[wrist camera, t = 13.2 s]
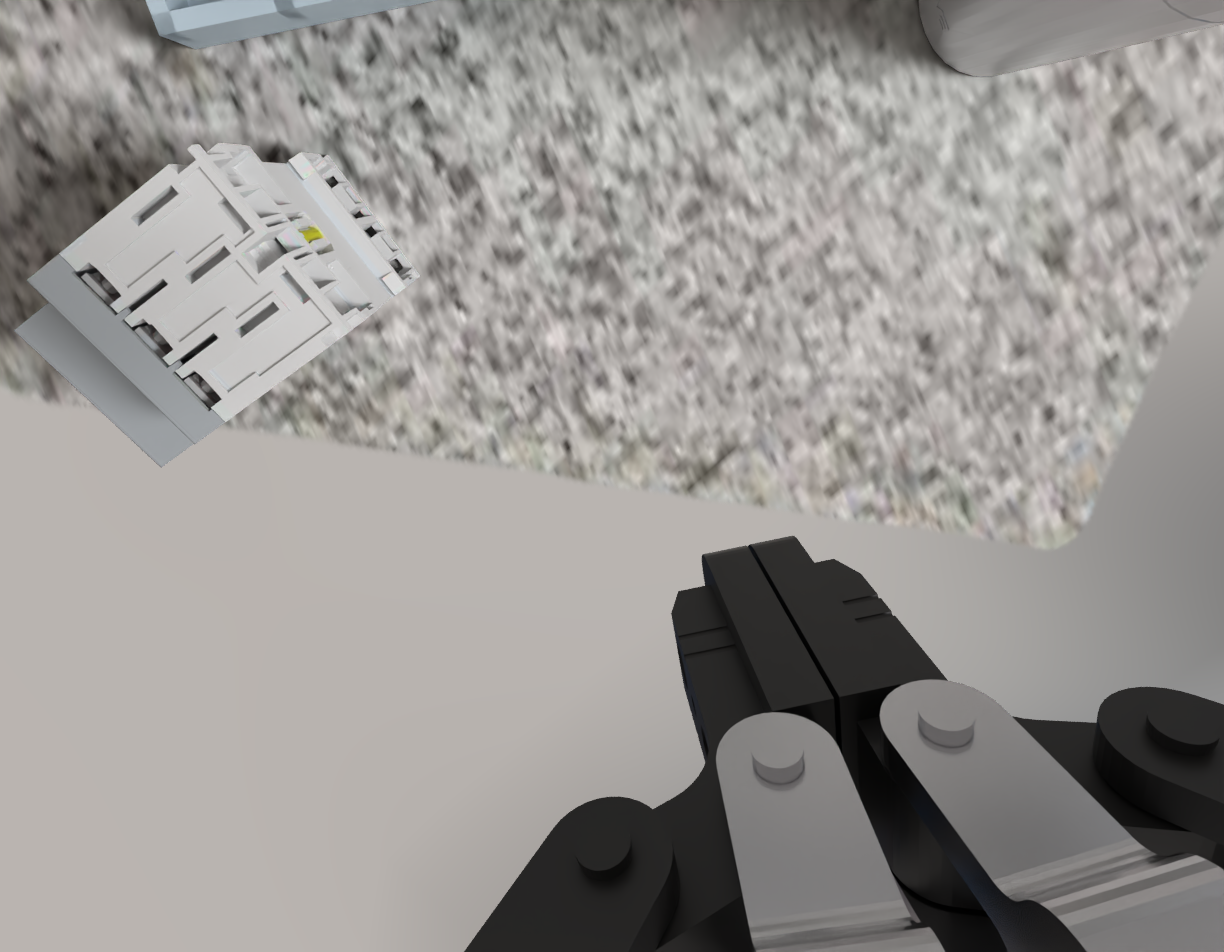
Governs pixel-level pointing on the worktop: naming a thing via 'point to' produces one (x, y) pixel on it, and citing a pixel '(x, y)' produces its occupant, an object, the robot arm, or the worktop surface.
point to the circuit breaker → (210, 291)
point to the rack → (253, 17)
